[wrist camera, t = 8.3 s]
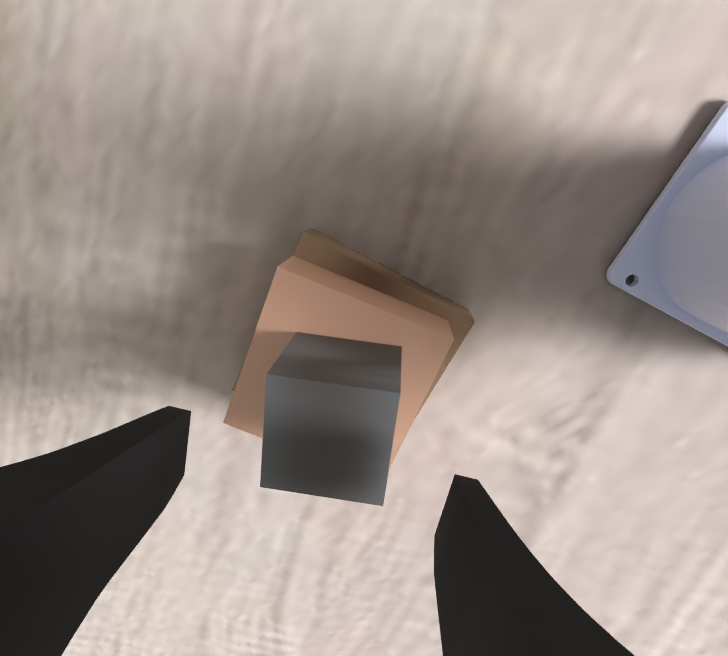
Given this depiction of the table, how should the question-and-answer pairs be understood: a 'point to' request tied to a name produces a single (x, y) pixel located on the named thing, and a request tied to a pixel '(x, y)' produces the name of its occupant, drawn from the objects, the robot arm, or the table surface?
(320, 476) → the charcoal cube
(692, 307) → the robot arm
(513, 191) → the table surface
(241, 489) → the table surface
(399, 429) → the terracotta slab
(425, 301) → the walnut slab
